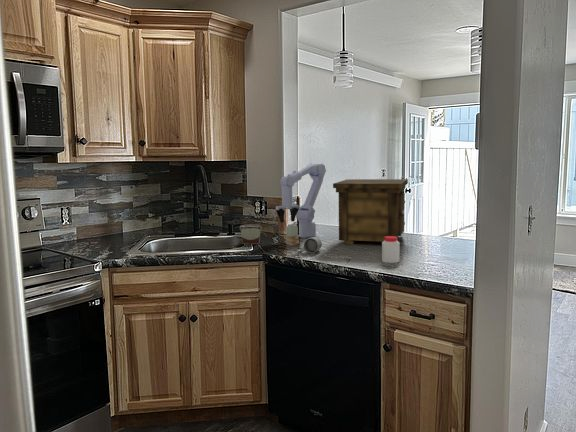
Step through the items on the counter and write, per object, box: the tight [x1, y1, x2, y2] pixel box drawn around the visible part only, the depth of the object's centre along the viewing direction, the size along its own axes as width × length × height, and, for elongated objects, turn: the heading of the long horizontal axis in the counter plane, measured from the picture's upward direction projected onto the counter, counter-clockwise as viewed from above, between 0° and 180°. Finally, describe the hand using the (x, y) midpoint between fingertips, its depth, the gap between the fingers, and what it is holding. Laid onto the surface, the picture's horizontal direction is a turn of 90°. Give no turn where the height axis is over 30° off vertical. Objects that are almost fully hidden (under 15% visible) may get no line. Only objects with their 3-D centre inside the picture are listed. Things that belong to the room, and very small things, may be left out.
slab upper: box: [285, 234, 300, 241], centre depth 261 cm, size 5×5×2 cm
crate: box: [332, 178, 409, 245], centre depth 264 cm, size 35×35×33 cm
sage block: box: [285, 225, 299, 236], centre depth 260 cm, size 4×4×5 cm
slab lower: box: [285, 239, 300, 246], centre depth 261 cm, size 5×5×2 cm
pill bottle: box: [381, 236, 401, 264], centre depth 216 cm, size 8×8×11 cm
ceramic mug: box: [299, 236, 323, 254], centre depth 240 cm, size 11×8×8 cm
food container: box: [238, 223, 263, 245], centre depth 266 cm, size 12×6×10 cm, turn 84°
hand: (287, 221), depth 271 cm, fingers open, 7 cm apart
